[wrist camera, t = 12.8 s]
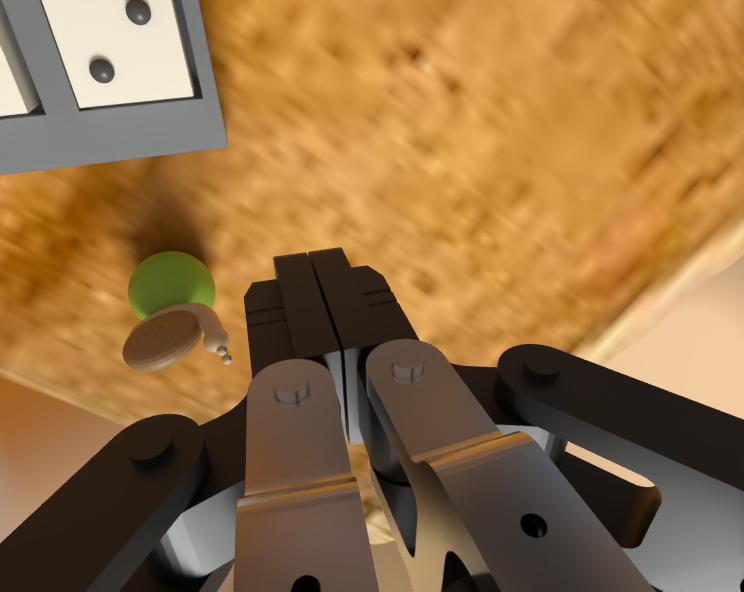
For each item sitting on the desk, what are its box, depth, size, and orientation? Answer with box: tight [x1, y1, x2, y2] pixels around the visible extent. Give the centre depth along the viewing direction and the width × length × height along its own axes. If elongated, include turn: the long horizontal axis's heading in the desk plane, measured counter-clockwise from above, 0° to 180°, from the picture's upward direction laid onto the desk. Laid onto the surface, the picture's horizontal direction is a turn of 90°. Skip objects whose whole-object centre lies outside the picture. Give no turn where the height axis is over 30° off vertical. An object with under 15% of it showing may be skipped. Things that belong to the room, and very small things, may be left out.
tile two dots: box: [42, 0, 195, 108], centre depth 25 cm, size 6×6×3 cm
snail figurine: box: [123, 251, 232, 372], centre depth 31 cm, size 5×6×12 cm
